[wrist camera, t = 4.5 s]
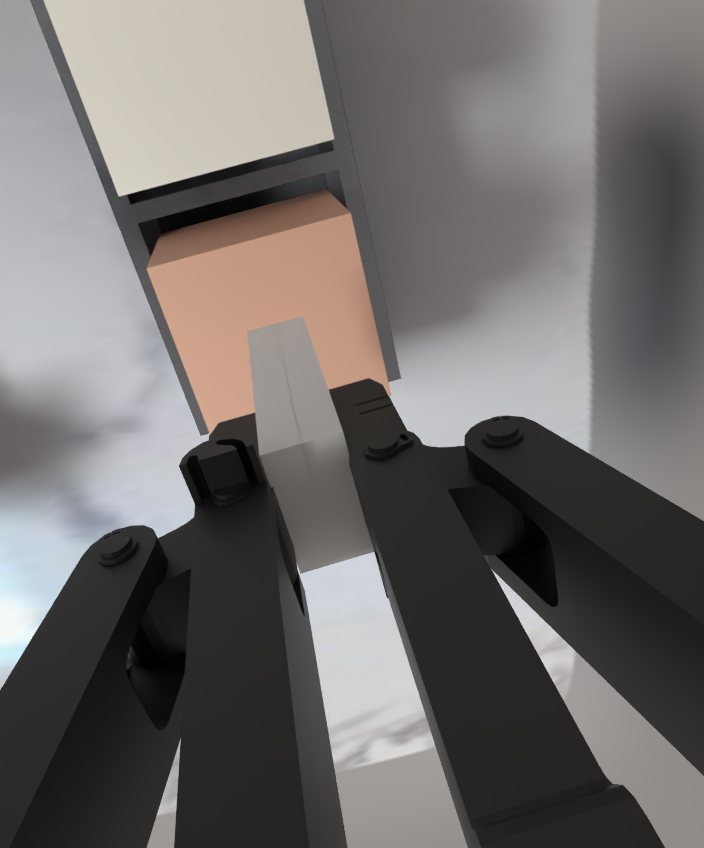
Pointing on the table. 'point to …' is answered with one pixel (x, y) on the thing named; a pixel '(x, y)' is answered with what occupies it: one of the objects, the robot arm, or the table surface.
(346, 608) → the table surface
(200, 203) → the grey compartment tray
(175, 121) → the ivory key
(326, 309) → the terracotta key
